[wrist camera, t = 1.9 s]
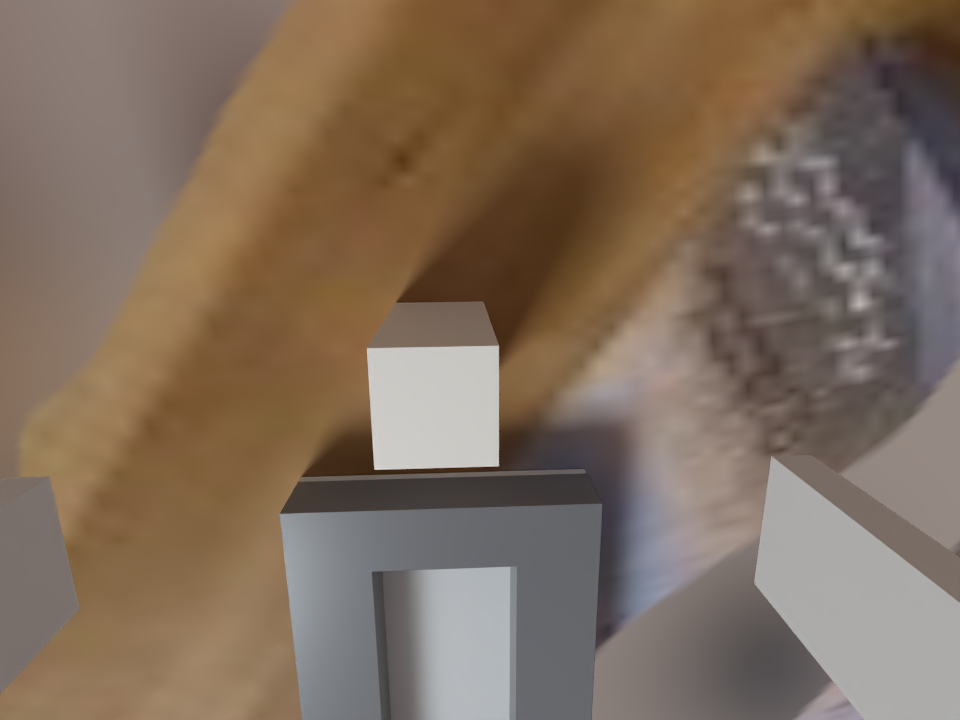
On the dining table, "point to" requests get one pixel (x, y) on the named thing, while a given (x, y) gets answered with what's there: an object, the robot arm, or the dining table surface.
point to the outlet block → (444, 595)
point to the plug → (434, 387)
